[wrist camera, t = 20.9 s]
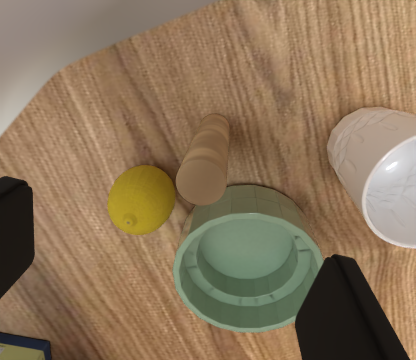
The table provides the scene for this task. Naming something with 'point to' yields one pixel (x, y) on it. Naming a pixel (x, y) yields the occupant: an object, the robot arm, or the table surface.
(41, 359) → the protein box
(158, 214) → the lemon
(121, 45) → the table surface
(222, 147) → the stick
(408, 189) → the white cup
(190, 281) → the bowl
